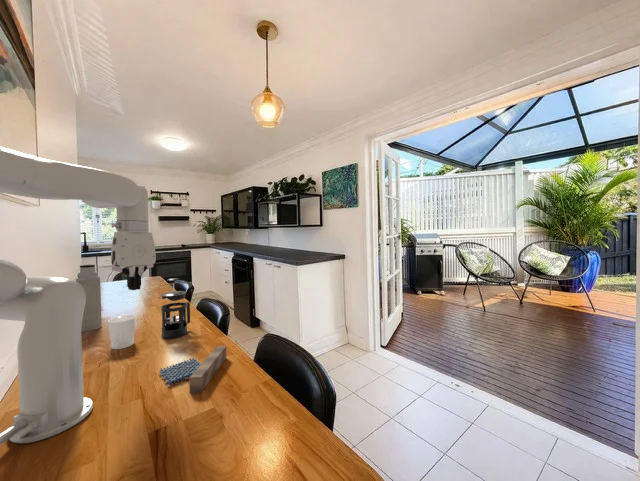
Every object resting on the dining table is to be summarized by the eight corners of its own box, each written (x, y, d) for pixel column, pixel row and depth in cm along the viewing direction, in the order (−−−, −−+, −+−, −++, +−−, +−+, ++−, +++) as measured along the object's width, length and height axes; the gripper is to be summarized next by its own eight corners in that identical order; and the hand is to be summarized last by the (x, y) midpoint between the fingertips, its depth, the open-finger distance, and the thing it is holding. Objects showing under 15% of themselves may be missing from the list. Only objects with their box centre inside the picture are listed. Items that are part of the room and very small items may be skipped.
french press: (168, 341, 96) (167, 281, 95) (154, 337, 100) (152, 279, 100) (196, 331, 106) (195, 276, 106) (182, 327, 111) (180, 275, 110)
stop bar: (201, 392, 65) (201, 377, 65) (189, 392, 65) (189, 377, 65) (226, 358, 83) (226, 345, 83) (217, 358, 83) (216, 346, 83)
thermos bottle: (98, 323, 116) (96, 263, 115) (104, 327, 112) (102, 264, 111) (74, 329, 109) (72, 265, 109) (80, 333, 105) (78, 266, 104)
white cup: (121, 351, 88) (120, 323, 88) (103, 349, 90) (102, 321, 90) (141, 341, 96) (140, 315, 96) (124, 340, 98) (123, 314, 97)
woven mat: (194, 362, 81) (194, 355, 81) (208, 374, 74) (208, 367, 74) (157, 375, 74) (157, 368, 74) (168, 390, 66) (168, 383, 66)
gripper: (110, 226, 66) (111, 296, 66) (166, 228, 80) (167, 285, 80) (95, 227, 69) (96, 293, 70) (151, 228, 83) (152, 284, 83)
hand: (134, 289), depth 75 cm, fingers closed
